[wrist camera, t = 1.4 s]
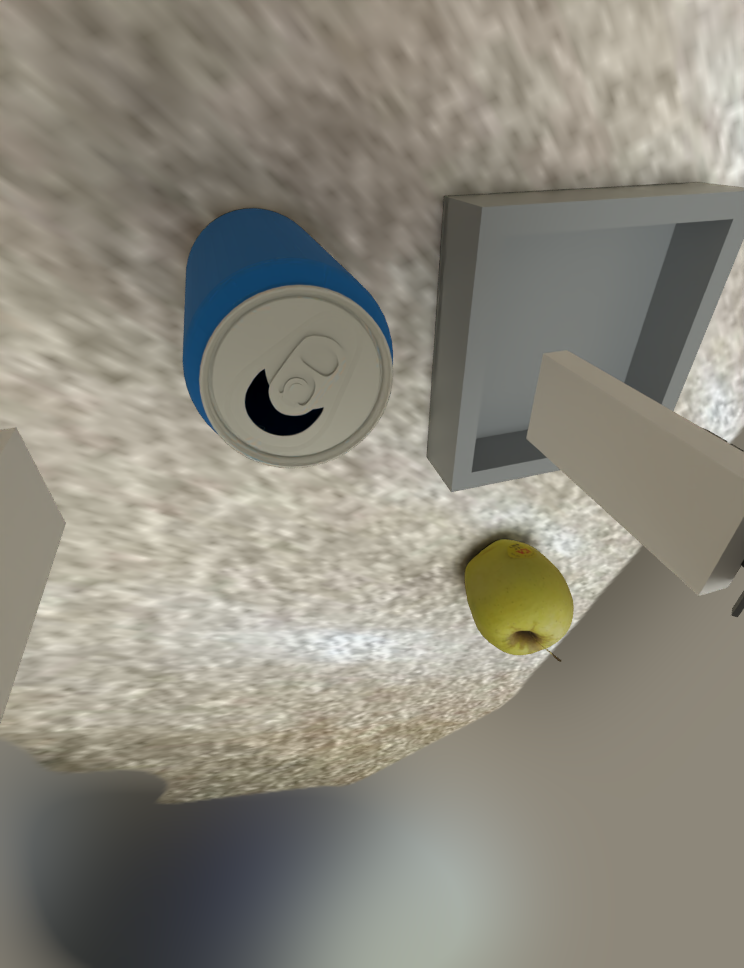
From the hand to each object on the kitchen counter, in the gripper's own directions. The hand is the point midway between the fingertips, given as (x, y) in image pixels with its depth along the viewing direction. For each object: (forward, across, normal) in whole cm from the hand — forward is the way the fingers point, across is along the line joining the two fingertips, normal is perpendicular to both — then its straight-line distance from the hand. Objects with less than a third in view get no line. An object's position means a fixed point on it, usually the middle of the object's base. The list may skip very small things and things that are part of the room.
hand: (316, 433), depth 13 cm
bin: (+14, +17, -4) cm, 22 cm away
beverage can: (+14, 0, 0) cm, 14 cm away
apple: (+15, +16, -24) cm, 32 cm away
